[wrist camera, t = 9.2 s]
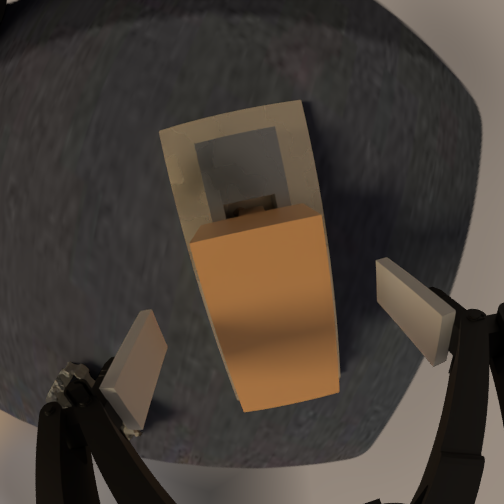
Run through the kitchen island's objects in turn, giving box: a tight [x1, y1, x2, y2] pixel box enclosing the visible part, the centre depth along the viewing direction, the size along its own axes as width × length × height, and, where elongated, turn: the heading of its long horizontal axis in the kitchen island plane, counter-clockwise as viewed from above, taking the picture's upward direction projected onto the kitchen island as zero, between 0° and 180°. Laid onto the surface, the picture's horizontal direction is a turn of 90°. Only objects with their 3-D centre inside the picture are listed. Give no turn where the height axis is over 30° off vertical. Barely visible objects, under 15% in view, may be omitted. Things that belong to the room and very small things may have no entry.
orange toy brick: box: [189, 203, 339, 412], centre depth 18 cm, size 11×6×7 cm, turn 12°
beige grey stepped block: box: [159, 100, 340, 400], centre depth 20 cm, size 24×10×4 cm, turn 12°
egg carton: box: [46, 362, 143, 440], centre depth 24 cm, size 11×8×4 cm
